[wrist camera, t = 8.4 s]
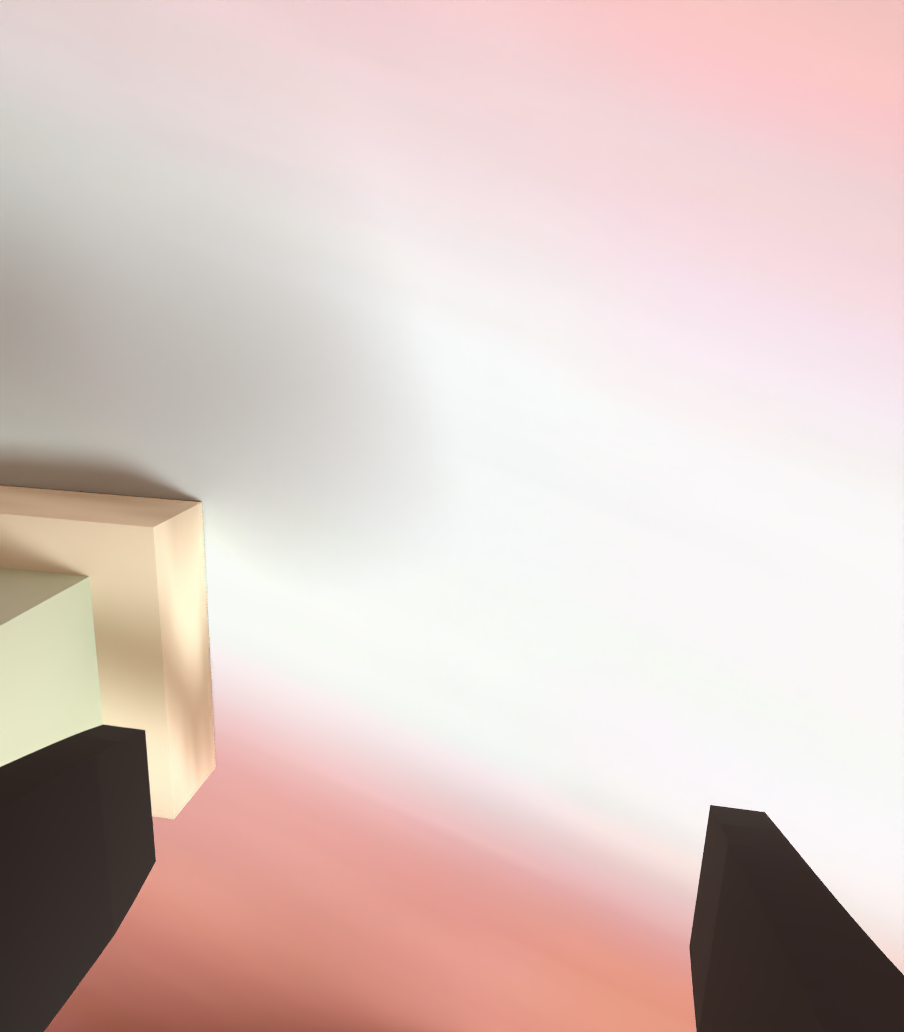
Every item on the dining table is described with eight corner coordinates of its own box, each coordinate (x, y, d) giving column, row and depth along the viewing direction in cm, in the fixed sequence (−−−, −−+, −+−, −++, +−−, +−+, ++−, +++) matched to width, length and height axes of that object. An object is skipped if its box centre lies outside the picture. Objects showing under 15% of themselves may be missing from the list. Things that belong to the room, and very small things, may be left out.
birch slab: (215, 767, 23) (173, 819, 21) (-29, 733, 24) (-94, 778, 22) (201, 501, 21) (153, 527, 18) (-67, 479, 22) (-144, 500, 20)
